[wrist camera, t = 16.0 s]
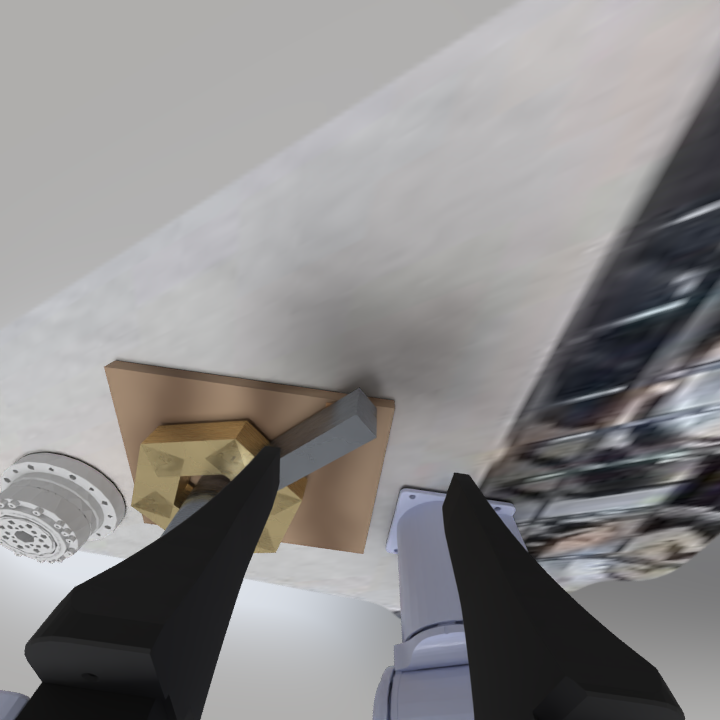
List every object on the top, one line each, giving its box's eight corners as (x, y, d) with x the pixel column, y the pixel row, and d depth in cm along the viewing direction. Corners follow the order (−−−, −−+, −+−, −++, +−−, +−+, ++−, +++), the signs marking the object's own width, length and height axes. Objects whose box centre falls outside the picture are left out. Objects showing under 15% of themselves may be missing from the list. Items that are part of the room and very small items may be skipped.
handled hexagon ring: (236, 551, 29) (221, 587, 26) (114, 459, 25) (81, 489, 22) (421, 462, 23) (427, 496, 20) (302, 319, 19) (289, 337, 16)
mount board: (394, 400, 22) (394, 409, 21) (363, 543, 29) (363, 554, 28) (115, 360, 22) (102, 367, 21) (151, 513, 29) (143, 523, 28)
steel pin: (250, 465, 24) (213, 538, 19) (254, 500, 26) (221, 577, 21) (200, 460, 24) (148, 531, 19) (207, 496, 26) (162, 570, 21)
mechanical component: (96, 446, 26) (-8, 452, 27) (45, 489, 22) (-74, 494, 23) (145, 526, 30) (54, 528, 31) (109, 574, 26) (7, 574, 28)
